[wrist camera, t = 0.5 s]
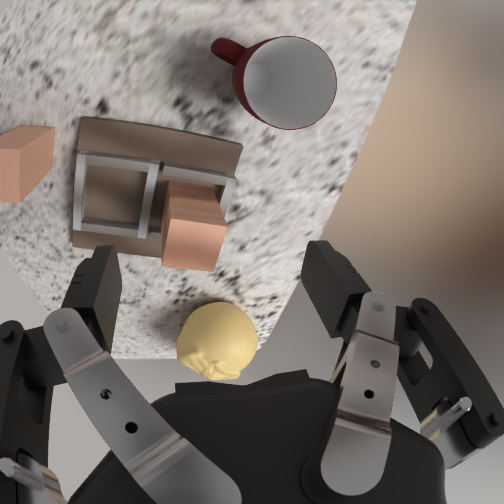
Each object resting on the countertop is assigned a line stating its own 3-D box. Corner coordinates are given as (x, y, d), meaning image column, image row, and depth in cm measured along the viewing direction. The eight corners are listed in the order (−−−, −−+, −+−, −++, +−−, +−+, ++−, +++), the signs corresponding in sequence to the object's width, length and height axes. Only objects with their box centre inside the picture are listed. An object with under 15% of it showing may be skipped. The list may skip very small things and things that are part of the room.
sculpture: (162, 321, 44) (167, 378, 36) (218, 280, 42) (235, 337, 34) (208, 348, 51) (219, 398, 42) (260, 314, 49) (280, 365, 41)
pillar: (20, 125, 21) (-21, 148, 14) (55, 127, 23) (20, 149, 16) (17, 166, 24) (-19, 199, 17) (51, 169, 26) (19, 203, 19)
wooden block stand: (84, 116, 24) (50, 137, 16) (240, 143, 31) (269, 173, 23) (74, 241, 32) (54, 296, 24) (205, 257, 39) (218, 312, 31)
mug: (185, 86, 26) (192, 92, 18) (220, 23, 22) (243, 3, 14) (270, 123, 31) (309, 146, 23) (303, 66, 27) (352, 70, 19)
